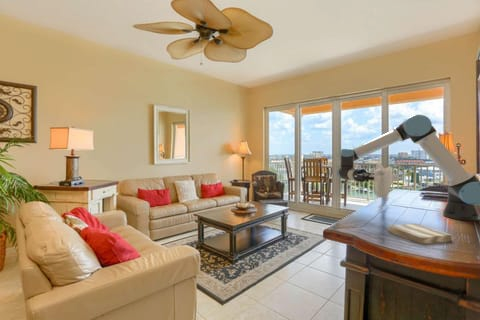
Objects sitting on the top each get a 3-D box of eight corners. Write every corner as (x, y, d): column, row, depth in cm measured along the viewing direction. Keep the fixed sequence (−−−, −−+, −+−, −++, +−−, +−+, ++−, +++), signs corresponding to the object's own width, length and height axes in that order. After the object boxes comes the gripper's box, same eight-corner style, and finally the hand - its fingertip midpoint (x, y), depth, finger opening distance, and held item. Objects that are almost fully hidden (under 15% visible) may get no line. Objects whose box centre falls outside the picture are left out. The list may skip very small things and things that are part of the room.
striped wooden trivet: (415, 228, 116) (415, 223, 116) (451, 240, 100) (451, 234, 100) (387, 231, 112) (387, 225, 112) (420, 244, 96) (420, 237, 96)
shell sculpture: (391, 199, 119) (392, 163, 119) (372, 197, 123) (373, 162, 123) (391, 197, 126) (392, 162, 126) (373, 195, 131) (374, 162, 130)
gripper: (374, 180, 145) (407, 185, 123) (340, 181, 139) (369, 187, 118) (374, 168, 145) (407, 171, 123) (340, 168, 139) (369, 171, 118)
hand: (389, 178), depth 121 cm, fingers closed on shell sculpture, 10 cm apart
